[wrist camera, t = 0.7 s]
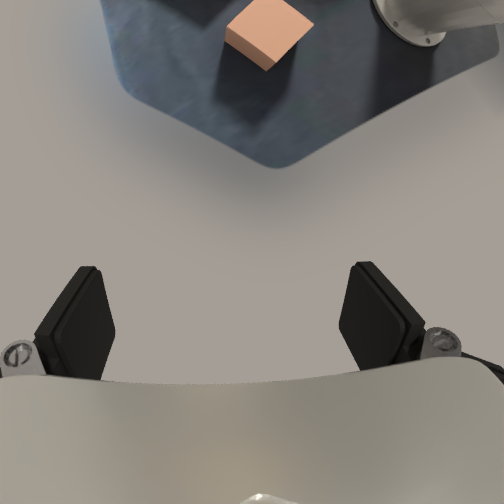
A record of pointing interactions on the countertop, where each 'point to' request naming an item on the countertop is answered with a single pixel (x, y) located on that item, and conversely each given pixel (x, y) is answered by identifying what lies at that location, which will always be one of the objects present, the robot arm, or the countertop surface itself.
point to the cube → (266, 31)
